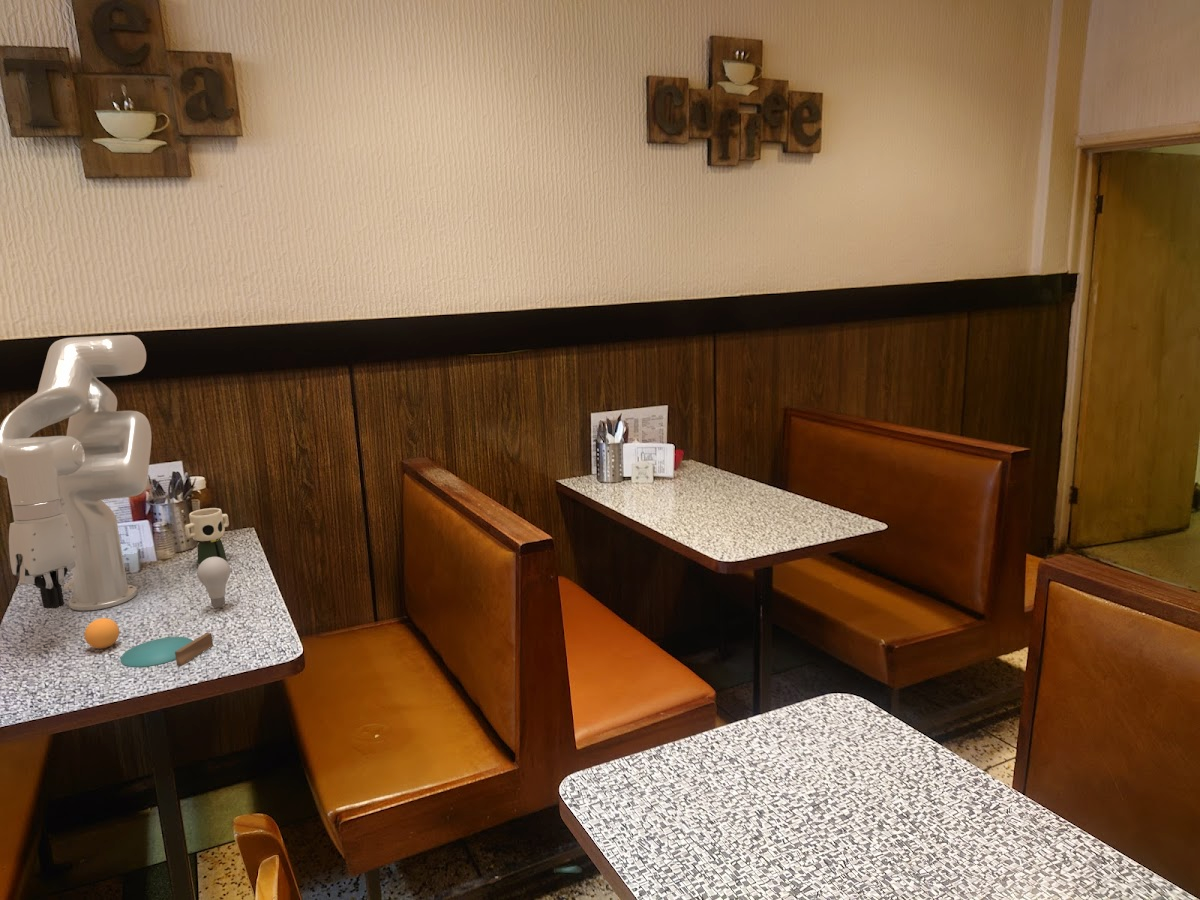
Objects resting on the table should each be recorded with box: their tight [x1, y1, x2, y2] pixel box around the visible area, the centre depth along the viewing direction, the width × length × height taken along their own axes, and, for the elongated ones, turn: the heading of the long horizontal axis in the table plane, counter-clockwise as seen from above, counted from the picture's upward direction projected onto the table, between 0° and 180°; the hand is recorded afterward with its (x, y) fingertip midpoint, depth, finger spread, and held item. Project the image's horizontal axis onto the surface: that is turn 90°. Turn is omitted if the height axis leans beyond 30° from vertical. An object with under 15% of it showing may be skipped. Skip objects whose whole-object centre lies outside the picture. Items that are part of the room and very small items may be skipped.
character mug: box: [184, 507, 230, 565], centre depth 198 cm, size 11×7×13 cm, turn 147°
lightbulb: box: [196, 557, 231, 610], centre depth 170 cm, size 6×6×11 cm
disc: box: [120, 636, 194, 668], centre depth 151 cm, size 12×12×1 cm
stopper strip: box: [175, 632, 214, 666], centre depth 149 cm, size 1×8×2 cm, turn 166°
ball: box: [84, 617, 120, 649], centre depth 154 cm, size 6×6×6 cm
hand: (53, 606), depth 154 cm, fingers closed
